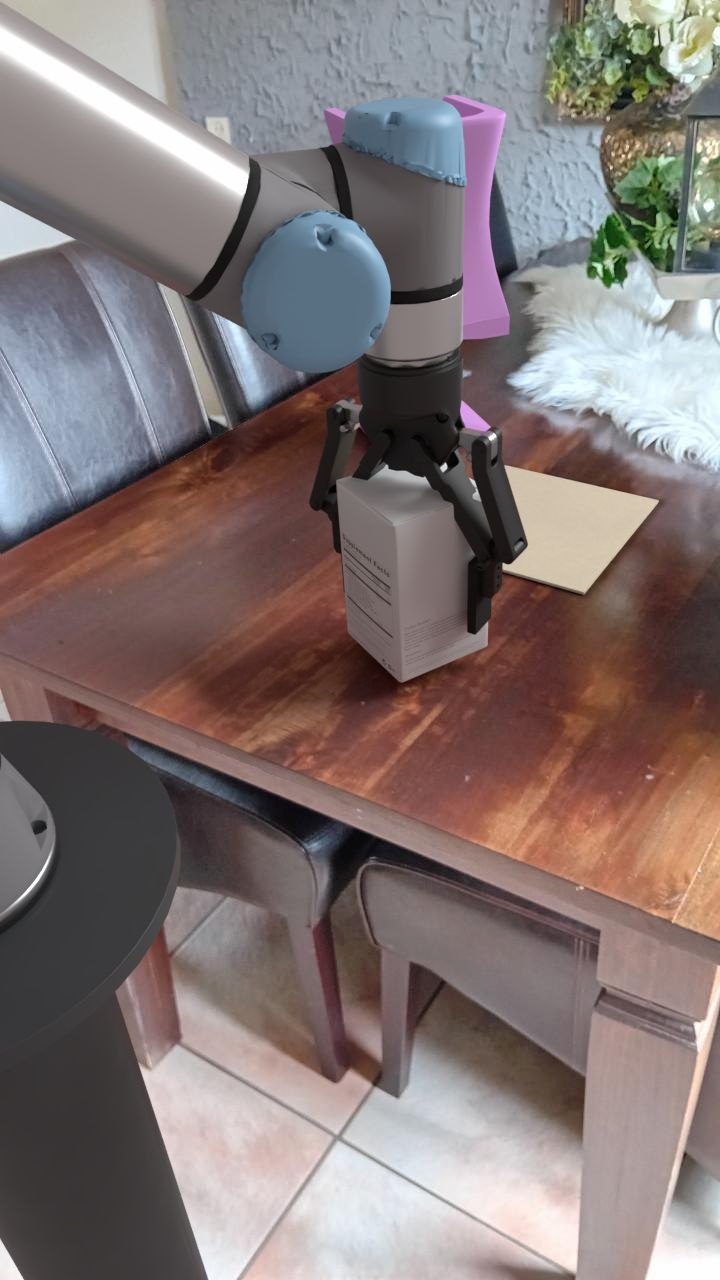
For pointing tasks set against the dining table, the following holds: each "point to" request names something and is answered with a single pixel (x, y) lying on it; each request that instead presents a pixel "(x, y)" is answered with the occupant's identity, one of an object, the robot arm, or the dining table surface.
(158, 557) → the dining table surface
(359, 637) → the rectangular carton
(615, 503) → the placemat
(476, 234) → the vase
